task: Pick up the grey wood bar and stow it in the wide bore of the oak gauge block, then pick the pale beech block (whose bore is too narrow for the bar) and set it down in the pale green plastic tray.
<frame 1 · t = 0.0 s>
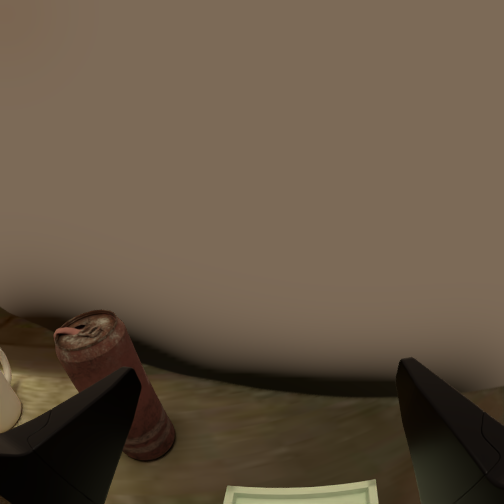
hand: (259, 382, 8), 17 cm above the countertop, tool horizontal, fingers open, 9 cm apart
mug: (8, 407, 23), on the countertop
can: (147, 440, 22), on the countertop
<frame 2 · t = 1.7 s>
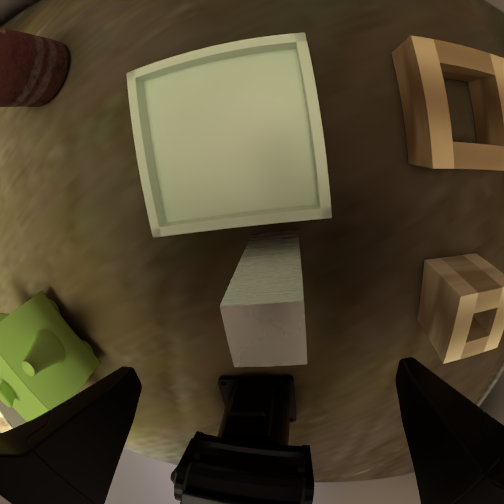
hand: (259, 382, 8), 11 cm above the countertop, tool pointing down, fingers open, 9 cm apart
kettle: (65, 339, 26), on the countertop
beech block: (447, 286, 18), on the countertop
grey wood bar: (277, 253, 19), on the countertop
tray: (228, 134, 17), on the countertop
oak gauge block: (449, 109, 14), on the countertop
can: (48, 75, 16), on the countertop
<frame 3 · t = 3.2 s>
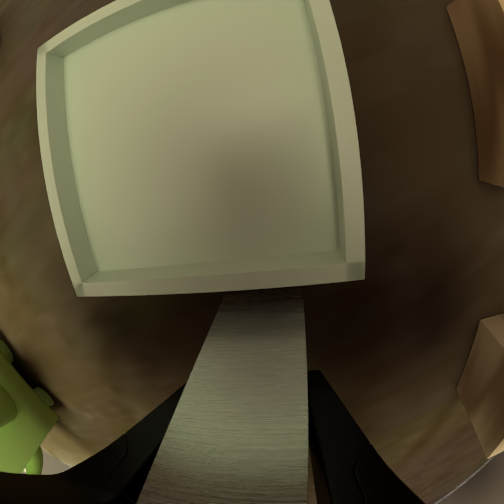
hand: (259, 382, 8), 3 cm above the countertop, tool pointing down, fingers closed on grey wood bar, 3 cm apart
kettle: (24, 382, 18), on the countertop
beech block: (499, 347, 11), on the countertop
grey wood bar: (267, 322, 12), on the countertop, touching gripper
tray: (182, 126, 9), on the countertop
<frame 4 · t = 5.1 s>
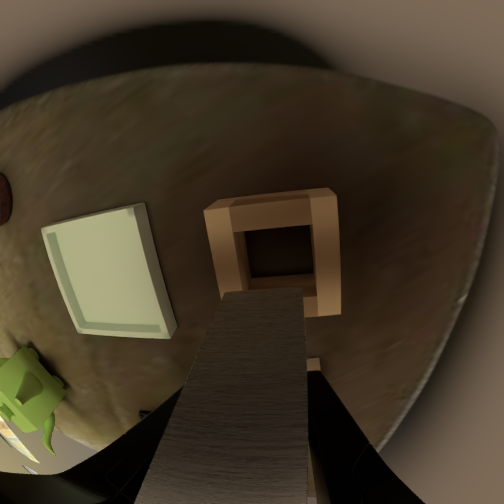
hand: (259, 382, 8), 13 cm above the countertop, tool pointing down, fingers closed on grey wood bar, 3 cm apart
kettle: (44, 373, 32), on the countertop
grey wood bar: (267, 321, 11), point 9 cm above the countertop, touching gripper
tray: (108, 273, 23), on the countertop
oak gauge block: (278, 246, 20), on the countertop
can: (1, 198, 22), on the countertop
when the fingers open (4 cm above the countertop, at t = 7.2 s): grey wood bar drops 1 cm, resting in oak gauge block.
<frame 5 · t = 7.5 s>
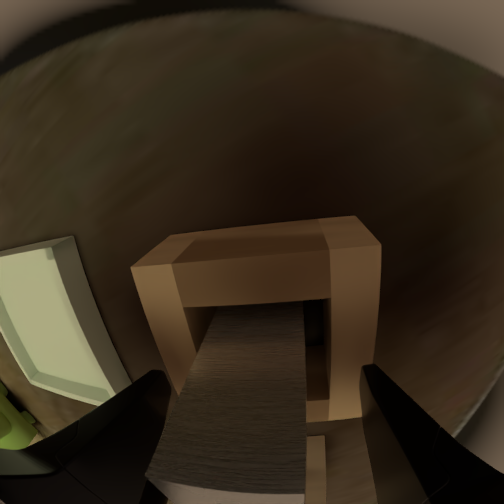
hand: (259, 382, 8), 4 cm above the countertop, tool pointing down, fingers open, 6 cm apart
kettle: (16, 406, 24), on the countertop
beech block: (288, 453, 17), on the countertop
grey wood bar: (269, 307, 13), resting in oak gauge block
tray: (49, 322, 15), on the countertop
oak gauge block: (270, 308, 12), on the countertop
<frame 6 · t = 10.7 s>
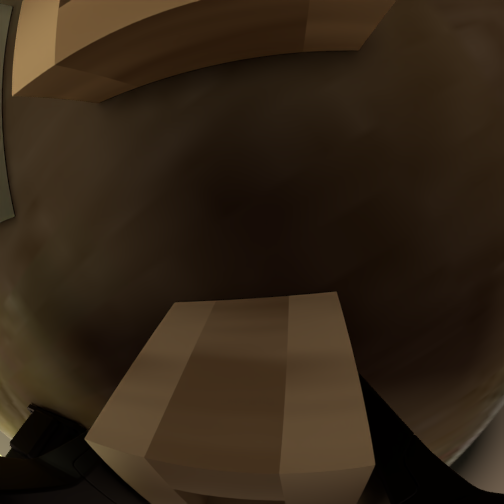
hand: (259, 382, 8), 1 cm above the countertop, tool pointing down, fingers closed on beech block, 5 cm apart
beech block: (262, 361, 9), on the countertop, touching gripper
when the fingers open (3 cm above the countertop, at t = 14.7 s): beech block drops 1 cm, resting on tray.
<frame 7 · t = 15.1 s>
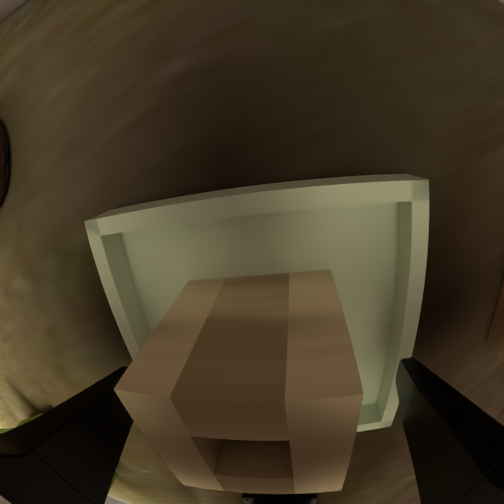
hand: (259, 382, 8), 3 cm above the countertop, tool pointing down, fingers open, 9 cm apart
beech block: (266, 334, 11), point 1 cm above the countertop, touching tray
tray: (267, 326, 11), on the countertop
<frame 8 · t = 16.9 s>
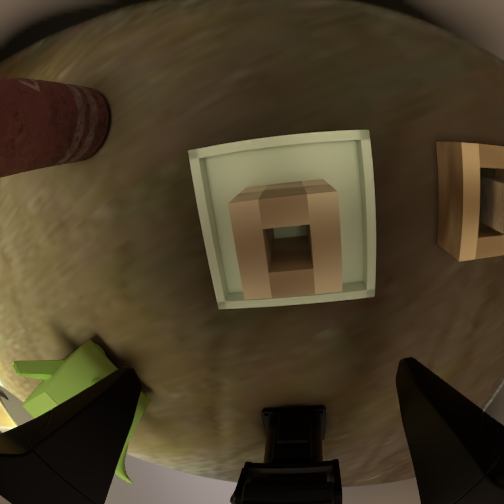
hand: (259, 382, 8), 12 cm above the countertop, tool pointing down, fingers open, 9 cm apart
kettle: (108, 376, 28), on the countertop
beech block: (288, 220, 19), point 1 cm above the countertop, touching tray
grey wood bar: (475, 192, 16), resting in oak gauge block
tray: (289, 219, 19), on the countertop
oak gauge block: (475, 193, 16), on the countertop
can: (83, 125, 19), on the countertop
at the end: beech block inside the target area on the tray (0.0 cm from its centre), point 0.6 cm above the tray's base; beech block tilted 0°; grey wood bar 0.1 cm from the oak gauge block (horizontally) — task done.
